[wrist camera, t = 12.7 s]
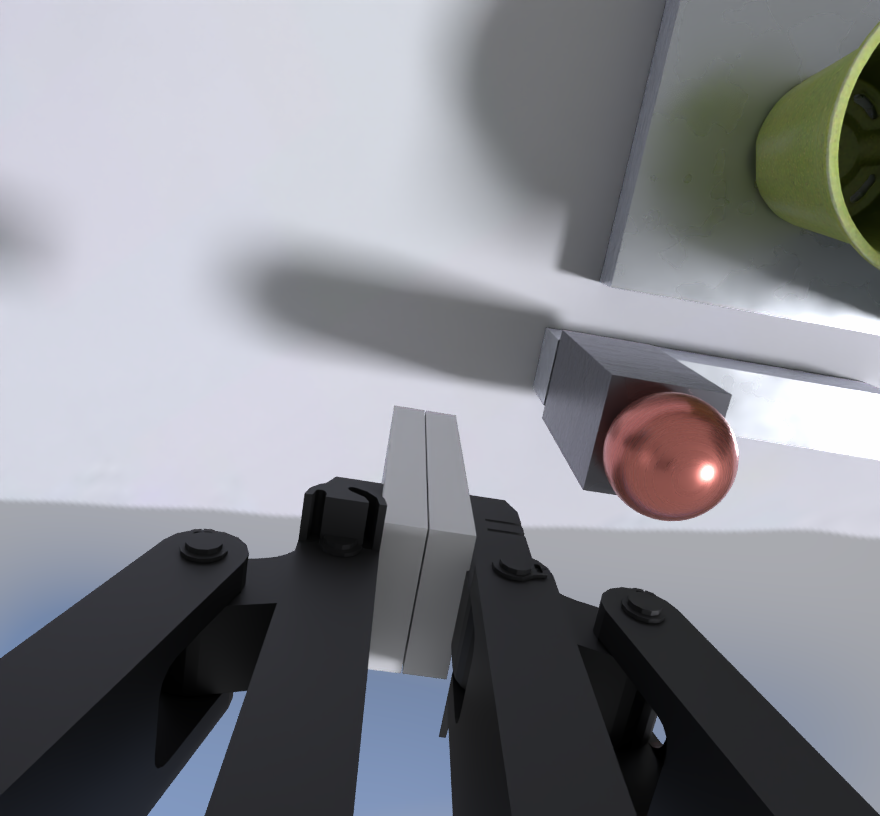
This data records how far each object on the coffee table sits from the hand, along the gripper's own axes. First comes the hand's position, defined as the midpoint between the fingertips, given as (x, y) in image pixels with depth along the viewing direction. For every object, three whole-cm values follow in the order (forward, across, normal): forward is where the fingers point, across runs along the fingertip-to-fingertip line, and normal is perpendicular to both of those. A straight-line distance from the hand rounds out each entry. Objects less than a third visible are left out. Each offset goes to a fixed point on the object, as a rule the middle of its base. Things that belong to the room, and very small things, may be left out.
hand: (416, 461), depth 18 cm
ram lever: (+13, +8, 0) cm, 15 cm away
